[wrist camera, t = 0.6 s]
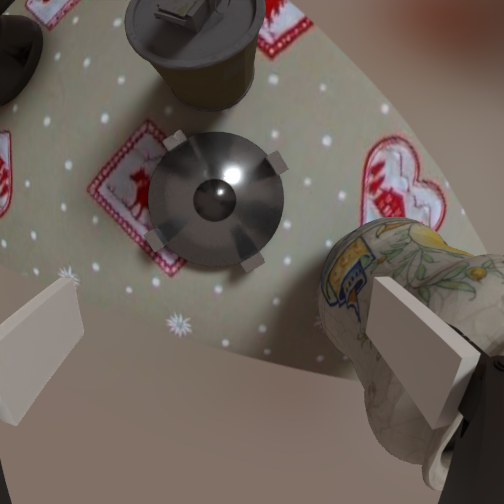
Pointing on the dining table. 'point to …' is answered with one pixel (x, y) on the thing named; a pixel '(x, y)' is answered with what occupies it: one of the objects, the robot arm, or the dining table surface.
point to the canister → (198, 46)
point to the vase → (427, 292)
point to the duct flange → (215, 199)
